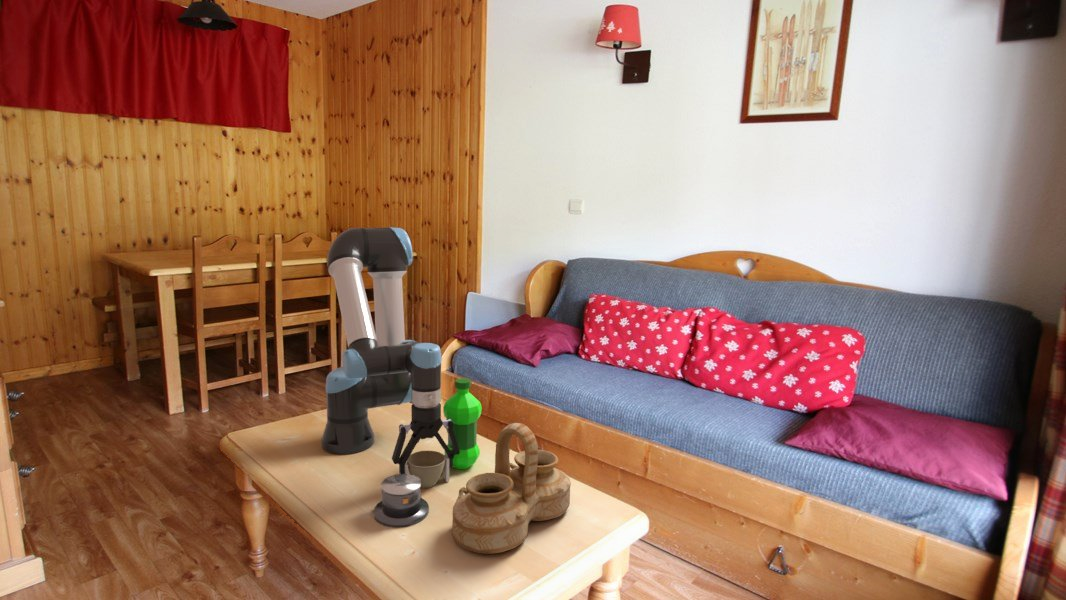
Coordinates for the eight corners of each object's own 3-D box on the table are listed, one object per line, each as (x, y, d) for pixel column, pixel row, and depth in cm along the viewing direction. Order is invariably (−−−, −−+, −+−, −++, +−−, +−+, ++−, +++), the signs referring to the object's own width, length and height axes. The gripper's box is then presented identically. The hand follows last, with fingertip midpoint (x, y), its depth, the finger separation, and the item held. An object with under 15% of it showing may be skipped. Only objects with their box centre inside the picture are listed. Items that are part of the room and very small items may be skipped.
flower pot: (437, 495, 157) (437, 469, 156) (400, 490, 159) (400, 464, 158) (450, 477, 167) (450, 452, 165) (415, 472, 168) (415, 448, 167)
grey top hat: (369, 503, 152) (369, 475, 150) (421, 494, 157) (421, 467, 155) (378, 531, 140) (378, 501, 139) (434, 520, 145) (434, 491, 144)
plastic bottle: (467, 476, 167) (468, 389, 162) (436, 467, 172) (436, 382, 167) (487, 462, 176) (488, 379, 171) (456, 454, 181) (457, 372, 176)
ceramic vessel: (525, 482, 166) (527, 394, 161) (583, 504, 155) (588, 411, 150) (433, 538, 139) (433, 434, 134) (496, 570, 128) (499, 459, 123)
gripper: (384, 413, 150) (385, 497, 155) (472, 403, 160) (471, 482, 164) (378, 403, 157) (380, 483, 161) (464, 393, 166) (463, 469, 170)
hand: (426, 482), depth 163 cm, fingers open, 10 cm apart
